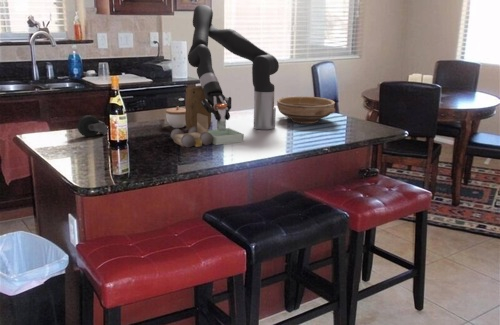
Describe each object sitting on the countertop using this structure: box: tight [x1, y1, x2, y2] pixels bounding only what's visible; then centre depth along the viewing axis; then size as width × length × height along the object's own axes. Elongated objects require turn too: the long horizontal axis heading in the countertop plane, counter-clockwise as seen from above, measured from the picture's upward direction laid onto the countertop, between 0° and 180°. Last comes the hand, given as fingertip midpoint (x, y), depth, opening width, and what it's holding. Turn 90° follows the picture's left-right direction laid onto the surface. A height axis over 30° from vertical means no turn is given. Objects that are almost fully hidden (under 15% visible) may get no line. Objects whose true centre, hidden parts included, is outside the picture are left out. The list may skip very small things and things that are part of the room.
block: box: [184, 85, 212, 131], centre depth 227 cm, size 11×8×20 cm
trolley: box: [170, 113, 213, 148], centre depth 206 cm, size 13×14×11 cm
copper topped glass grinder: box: [216, 102, 227, 131], centre depth 211 cm, size 5×5×11 cm
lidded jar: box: [165, 105, 186, 129], centre depth 236 cm, size 11×11×9 cm
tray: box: [208, 127, 245, 146], centre depth 213 cm, size 13×13×3 cm
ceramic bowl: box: [276, 95, 336, 124], centre depth 252 cm, size 37×29×10 cm
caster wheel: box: [77, 114, 109, 138], centre depth 216 cm, size 6×10×15 cm
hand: (223, 119), depth 209 cm, fingers closed on copper topped glass grinder, 3 cm apart
